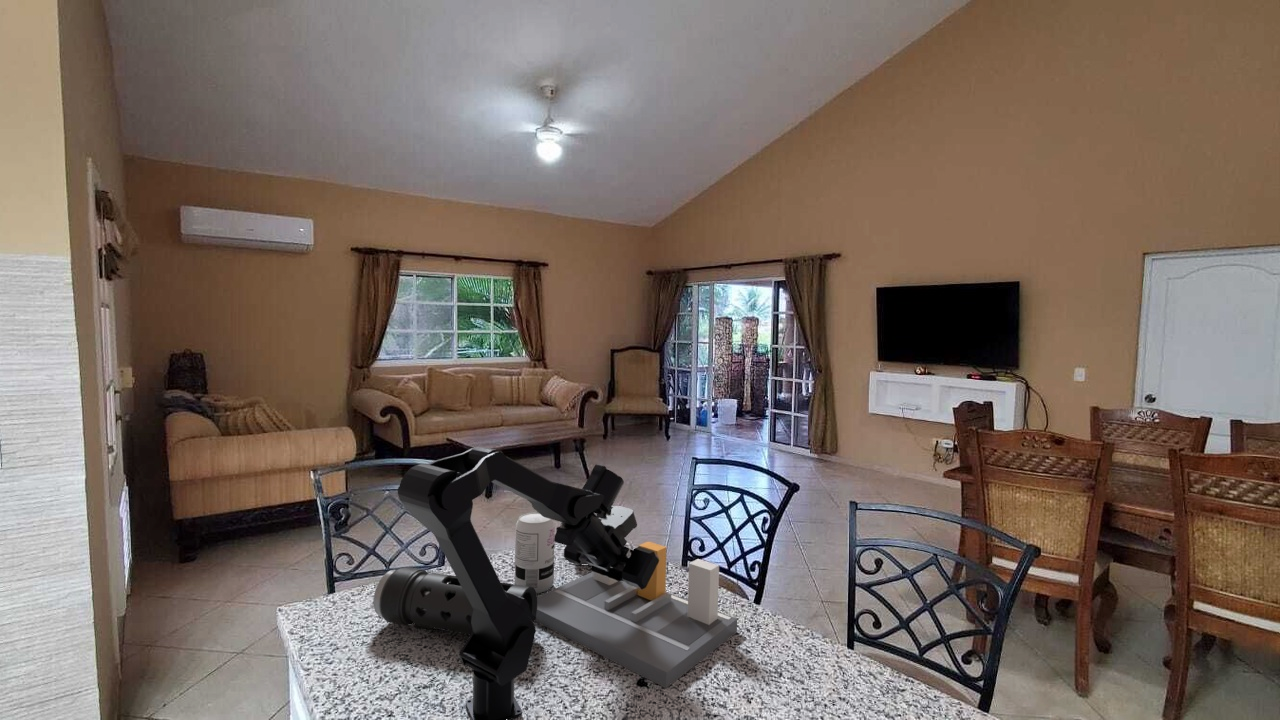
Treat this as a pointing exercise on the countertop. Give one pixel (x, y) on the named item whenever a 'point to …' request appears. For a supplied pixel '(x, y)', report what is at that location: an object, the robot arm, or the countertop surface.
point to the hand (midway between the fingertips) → (629, 579)
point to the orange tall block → (655, 573)
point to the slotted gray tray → (641, 622)
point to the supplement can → (534, 552)
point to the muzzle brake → (432, 600)
